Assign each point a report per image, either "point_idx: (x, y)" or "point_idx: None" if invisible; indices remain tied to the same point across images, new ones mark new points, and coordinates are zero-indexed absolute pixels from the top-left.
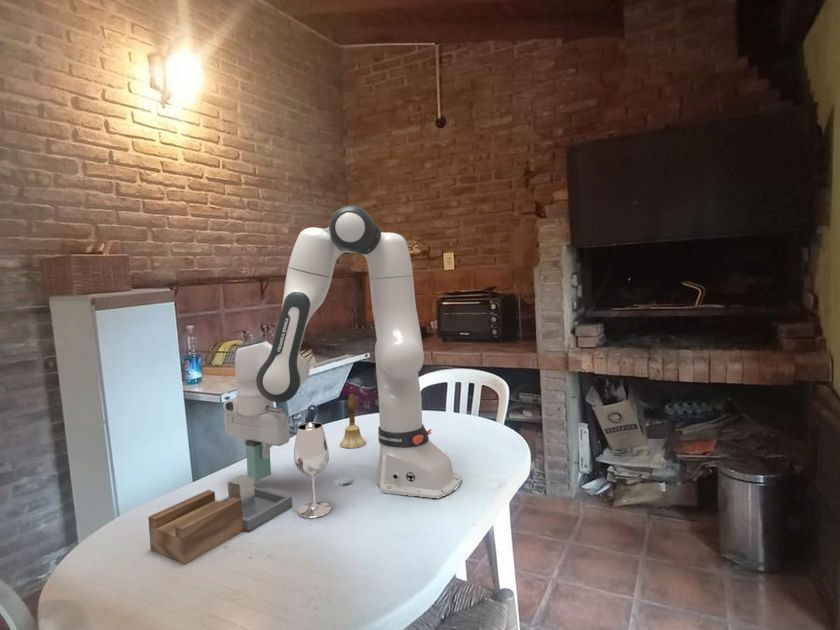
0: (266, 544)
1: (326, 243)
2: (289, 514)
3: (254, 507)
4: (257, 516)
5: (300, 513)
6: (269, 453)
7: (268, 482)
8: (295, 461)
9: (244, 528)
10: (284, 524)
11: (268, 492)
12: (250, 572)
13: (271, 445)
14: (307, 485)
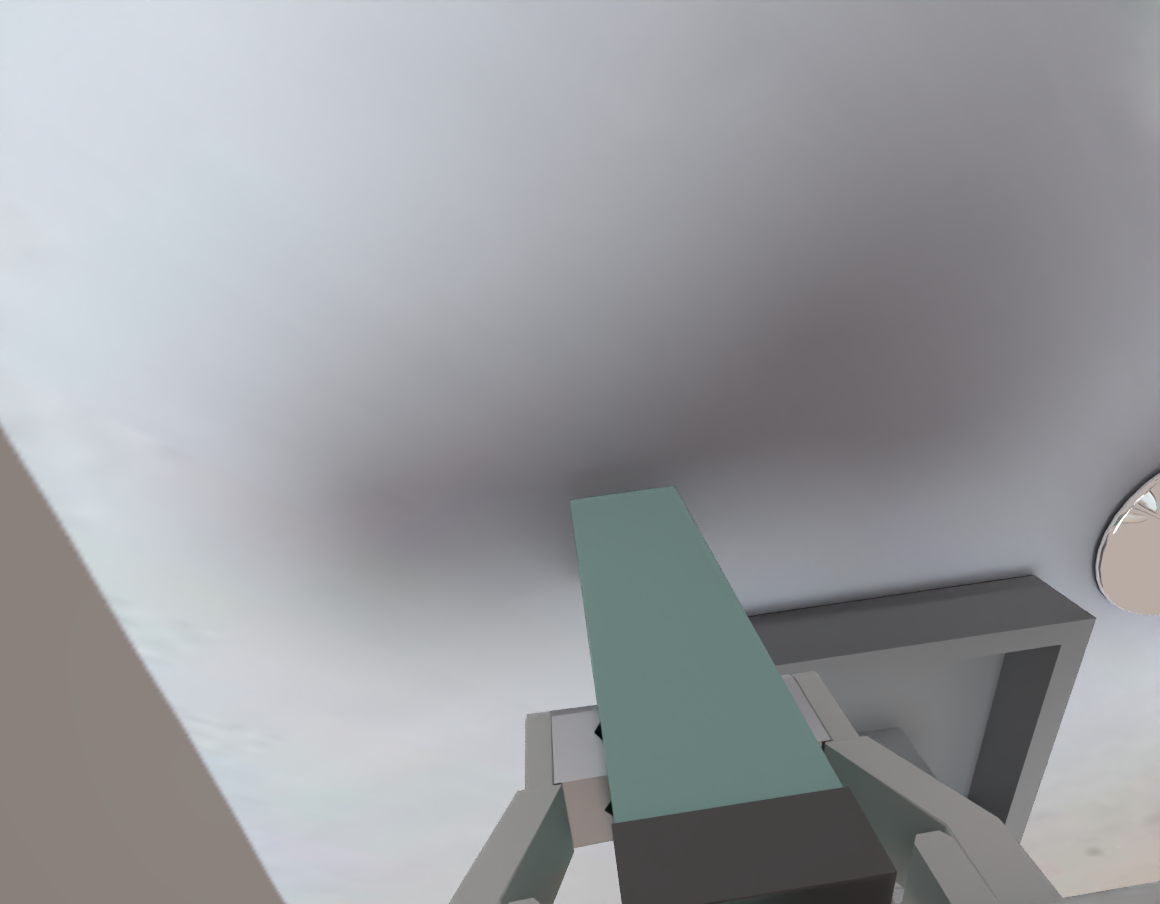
0: (1105, 794)
1: None
2: None
3: (916, 755)
4: (1027, 808)
5: (1140, 608)
6: (746, 622)
7: (611, 450)
8: None
9: None
10: (1093, 688)
11: (903, 664)
12: (1145, 879)
13: (979, 806)
14: (946, 310)
